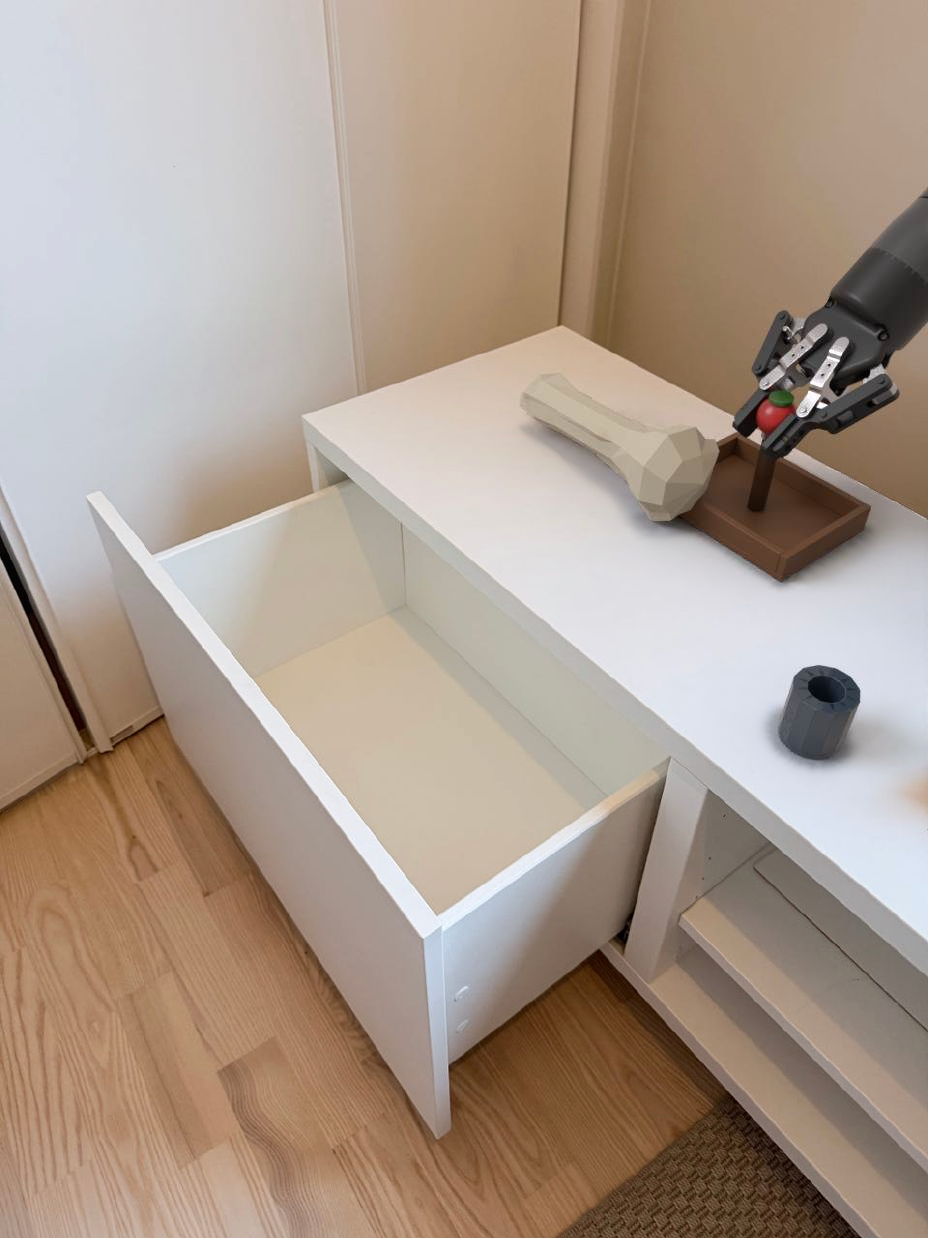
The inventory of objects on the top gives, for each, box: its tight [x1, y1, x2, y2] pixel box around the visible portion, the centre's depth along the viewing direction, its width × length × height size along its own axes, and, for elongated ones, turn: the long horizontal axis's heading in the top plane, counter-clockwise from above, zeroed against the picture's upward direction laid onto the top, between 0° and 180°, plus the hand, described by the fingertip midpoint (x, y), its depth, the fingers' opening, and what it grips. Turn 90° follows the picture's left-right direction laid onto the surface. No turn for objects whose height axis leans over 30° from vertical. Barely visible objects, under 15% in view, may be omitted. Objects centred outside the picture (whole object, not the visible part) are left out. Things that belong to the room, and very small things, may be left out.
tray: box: [677, 431, 872, 583], centre depth 85 cm, size 15×11×3 cm
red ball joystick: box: [747, 390, 798, 511], centre depth 81 cm, size 3×3×11 cm
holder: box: [777, 664, 861, 761], centre depth 65 cm, size 4×4×5 cm
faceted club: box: [519, 372, 719, 522], centre depth 89 cm, size 9×8×25 cm
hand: (753, 442), depth 80 cm, fingers closed on red ball joystick, 3 cm apart
